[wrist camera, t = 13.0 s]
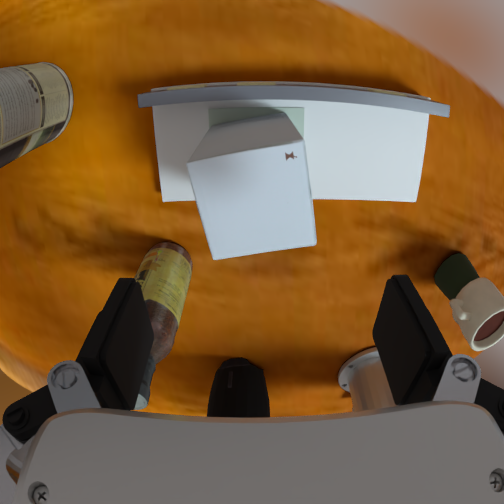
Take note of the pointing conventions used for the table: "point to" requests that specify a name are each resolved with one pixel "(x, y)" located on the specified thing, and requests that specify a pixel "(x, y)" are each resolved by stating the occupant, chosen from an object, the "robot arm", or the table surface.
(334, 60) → the table surface
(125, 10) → the table surface
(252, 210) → the supplement box
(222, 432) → the robot arm
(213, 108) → the shelf board
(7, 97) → the coffee can
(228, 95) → the rail
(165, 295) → the sauce bottle
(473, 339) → the character mug
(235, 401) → the portable speaker
